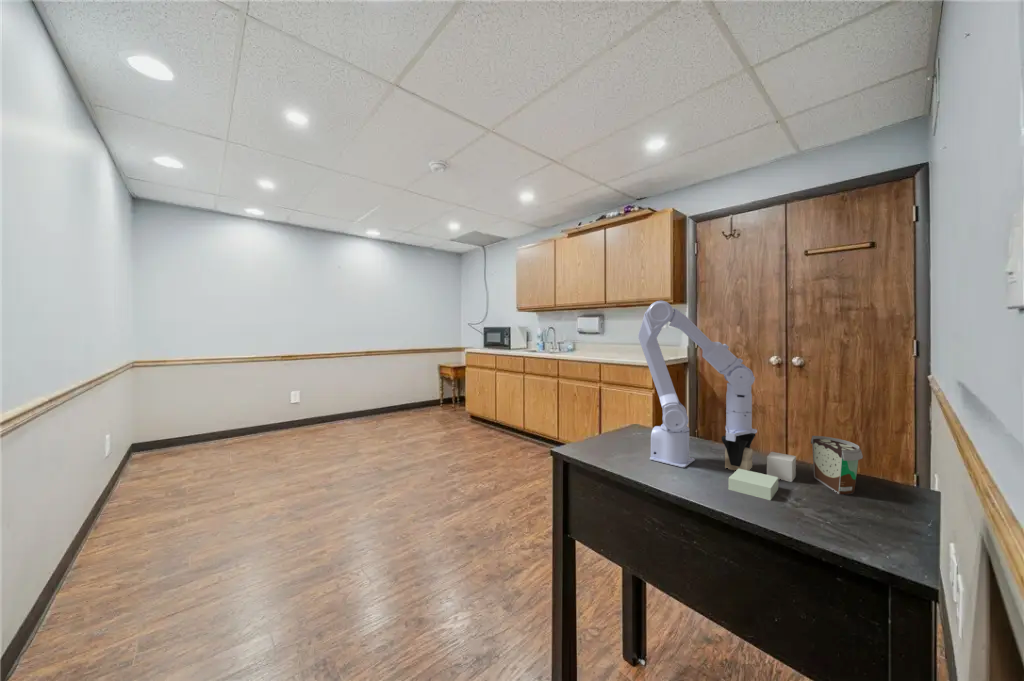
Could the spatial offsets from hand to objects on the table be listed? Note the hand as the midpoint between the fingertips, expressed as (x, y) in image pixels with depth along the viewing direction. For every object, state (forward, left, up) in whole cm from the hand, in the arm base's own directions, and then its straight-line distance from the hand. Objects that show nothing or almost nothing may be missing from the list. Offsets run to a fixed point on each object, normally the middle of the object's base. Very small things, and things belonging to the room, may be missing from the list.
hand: (738, 462), depth 98 cm
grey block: (+9, +1, -2) cm, 9 cm away
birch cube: (0, 0, -1) cm, 1 cm away
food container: (+20, +3, -2) cm, 20 cm away
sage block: (+6, -12, -2) cm, 14 cm away
